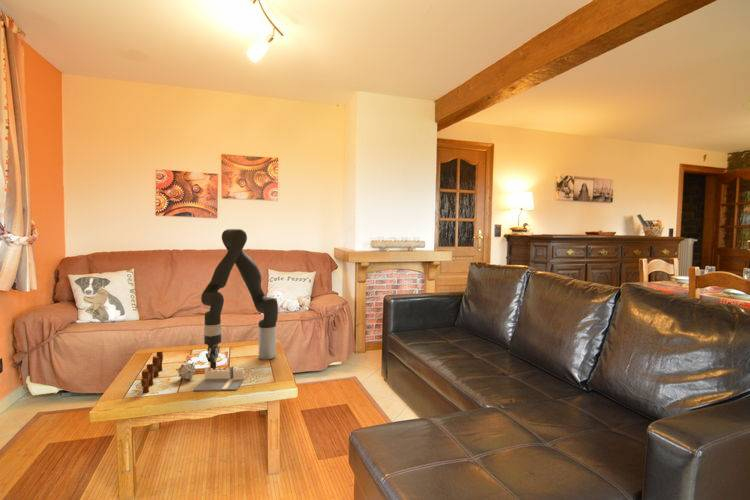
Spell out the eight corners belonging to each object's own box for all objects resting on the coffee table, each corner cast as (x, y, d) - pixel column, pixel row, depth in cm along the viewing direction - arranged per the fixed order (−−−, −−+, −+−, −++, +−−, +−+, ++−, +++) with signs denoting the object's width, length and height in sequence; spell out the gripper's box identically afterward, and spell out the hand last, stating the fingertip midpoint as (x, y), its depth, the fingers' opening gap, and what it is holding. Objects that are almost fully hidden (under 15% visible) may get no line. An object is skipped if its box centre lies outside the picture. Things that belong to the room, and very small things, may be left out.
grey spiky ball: (191, 386, 184) (205, 368, 185) (178, 386, 176) (192, 368, 177) (181, 373, 188) (195, 356, 189) (168, 373, 180) (181, 355, 181)
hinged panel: (233, 377, 183) (233, 366, 183) (232, 378, 182) (232, 367, 181) (205, 377, 182) (205, 367, 182) (204, 378, 181) (204, 368, 180)
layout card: (203, 379, 182) (203, 378, 182) (244, 378, 184) (244, 377, 184) (193, 391, 169) (192, 389, 169) (236, 390, 171) (236, 388, 171)
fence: (158, 368, 197) (158, 348, 196) (164, 367, 197) (164, 348, 197) (139, 395, 165) (139, 372, 164) (147, 395, 165) (147, 372, 165)
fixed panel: (233, 379, 182) (233, 368, 181) (234, 378, 183) (234, 367, 183) (243, 379, 182) (243, 368, 182) (244, 378, 183) (243, 367, 183)
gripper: (209, 329, 192) (209, 364, 193) (199, 337, 178) (199, 374, 179) (225, 329, 192) (225, 364, 193) (216, 336, 179) (216, 374, 180)
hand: (213, 369), depth 186 cm, fingers closed
